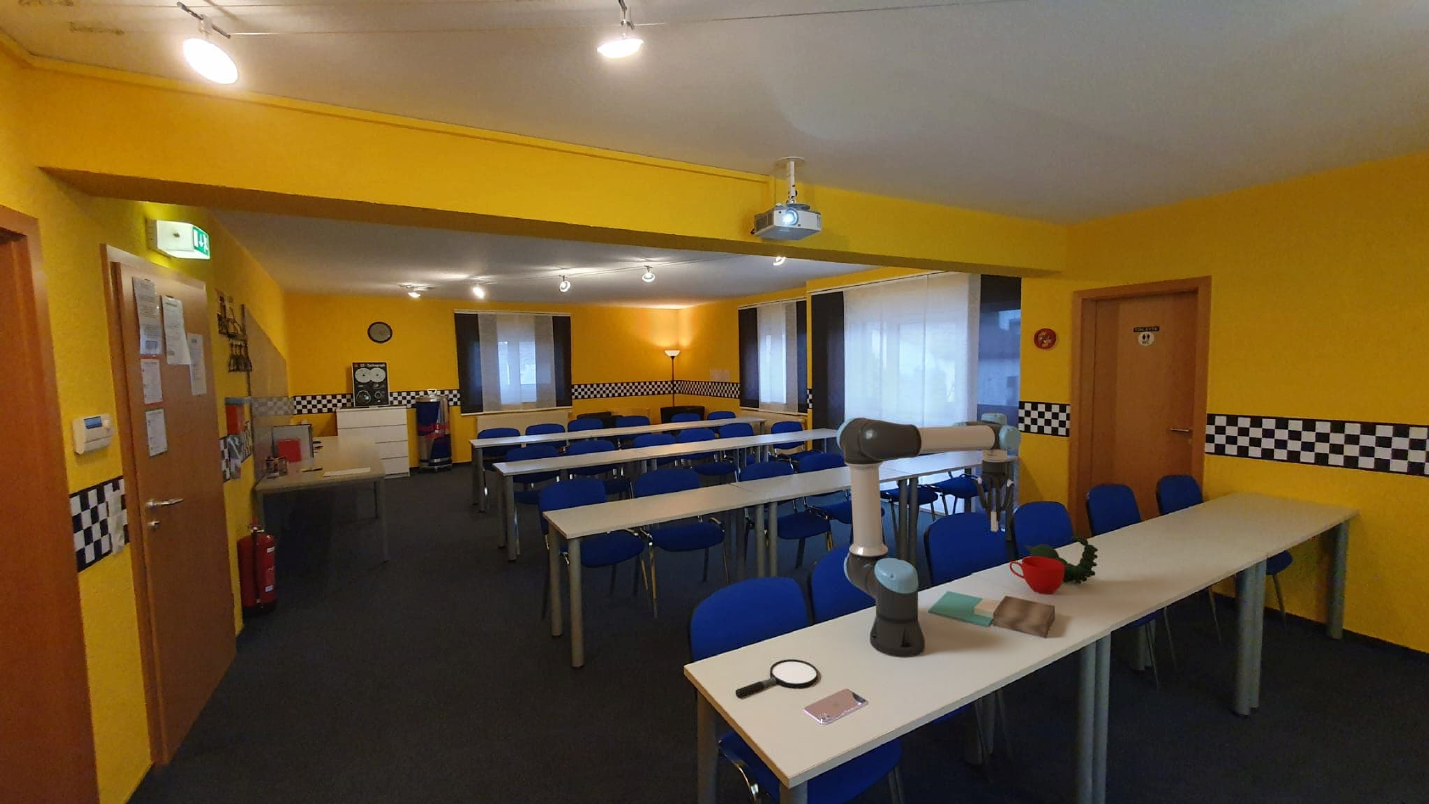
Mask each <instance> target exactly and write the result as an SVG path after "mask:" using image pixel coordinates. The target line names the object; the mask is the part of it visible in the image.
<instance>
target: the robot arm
mask: <svg viewBox="0 0 1429 804" xmlns="http://www.w3.org/2000/svg"><path fill="white" fill-rule="evenodd" d="M1022 439H1023V438H1022V433H1021V431H1020V430H1019V428H1018V427H1016V426H1012V425H1009V424H1008V421H1007V416H1006V415H1005V413H998V412H997V413H995V412H989V413H983V414H982V415H981V419H980V420H972V421H963V420H962V421H958V422H954V423H952V425H951V426H928V427H927V426H925V427H918V426H916V425H915V424H910V423H909V424H904V423H903V424H902V423H896V422H890V421H886V420H882V419H881V420H880V419H872V418H868V417H867V418H866V417H860V416H859V417H852V418H851V417H850V418H848V419H847V420H845V421H844V422H843V423H842V424H841V425H840V427H839V428H838V430H837V433H836V442H837V443H836V444H837V445H838V447H839V448H840V450H841V451H842V452H843V457H844V460H843V461H844V464H845V465H846V466H847V467H849V473H850V475H849V476H850V491H851V492H850V494H851V510H852V511H851V512H852V515H851V516H852V529H853V543H852V544H851V545H850V546H849V547H848V548H849V550H848V551H849V552H848V553H847V556H846V557H844V558H845V559H844V562H843V570H844V575H845V576H846V577H845V578H847V579H848V581H849V582H850V583H851V584H852V586H855V587H856V588H857V589H858V590H861V591H862V592H864V593H865V594H867V595H868V596H869V597H871V598H873V599H875V617H874V621H873V624H872V626H871V630H870V633H869V642H870V645H871V647H873V649H875V650H876V651H879V652H880V653H882V654H885V655H889V656H893V657H900V658H903V657H904V658H907V657H908V658H909V657H913V656H915V657H916V656H918V655H920V654H922V653H923V652H924V651H925V650H926V640H925V639H926V638H925V635H924V633H923V629H922V627H921V625H920V621H919V579H918V572H917V569H916V568H915V566H913V565H912V564H911V563H909V562H908V561H906V560H902V559H898V558H895V557H894V558H893V557H892V558H891V557H889V548H888V547H887V546H886V545H885V544H884V542H883V527H882V526H883V525H882V523H883V522H882V508H881V505H882V503H881V487H880V470H879V469H880V467H881V465H882V464H883V463H884V461H890V460H899V459H910V458H911V459H913V458H917V457H918V456H919V455H920V454H922V455H923V454H937V453H938V454H940V453H955V452H957V453H958V452H971V451H973V452H974V451H975V452H976V451H981V459H982V461H981V473H980V476H979V477H978V478H975V479H973V480H972V482H973V484H974V485H975V486H976V490H977V494H978V498H979V502H980V504H981V505H980V506H981V508H982V509H985V510H987V519H988V521H990V531H991V532H997V531H999V522H1001V521H1002V512H1005V511H1006V510H1007V509H1008V508H1009V505H1010V500H1011V497H1012V493H1013V491H1014V488H1015V487H1016V485H1017V482H1015V481H1012V480H1011V479H1010V477H1009V475H1008V462H1007V459H1008V451H1009V452H1013V451H1016V450H1017V449H1018V448H1020V446H1021V444H1022ZM983 483H984V485H985V486H986V493H987V498H986V494H985V491H984V488H983V487H984V485H983ZM1005 484H1006V486H1007V488H1006V492H1005V495H1004V498H1003V499H1004V500H1003V503H1002V491H1003V487H1004V485H1005ZM994 489H995V509H994Z"/></svg>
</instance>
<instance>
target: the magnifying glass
mask: <svg viewBox="0 0 1429 804" xmlns="http://www.w3.org/2000/svg"><path fill="white" fill-rule="evenodd" d="M769 673H770V674H769V676H770V677H768V679H764V680H761V681H760V680H759V681H757V682H755V683H754V682H753V683H751V684H749V685H746V686H742V687H739V688H736V690H735V696H736V698H738V699H739V698H740V699H743V698H746V697H749V696H751V695H753V694H756V693H758V692H761V691H763V690H766V689H768V688H769V687H773V686H777V685H778V686H780V687H781V688H786V689H791V690H793V689H794V690H798V689H799V690H800V689H805V688H809V687H811V686H813V685H814V684H815V683H817V681H818V680H819V671H818V669H817V668H816V666H815V665H813V664H812V663H810V662H808V661H805V660H801V659H795V658H793V659H782V660H778V661H776V662H774V663H773V664H772V665H771V667H770V670H769Z"/></svg>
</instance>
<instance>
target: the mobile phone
mask: <svg viewBox="0 0 1429 804" xmlns="http://www.w3.org/2000/svg"><path fill="white" fill-rule="evenodd" d="M867 705H868V700H866V699H865V698H863V697H862V696H860V695H859V694H857V693H855V692H853V691H852V690H850V689H848V688H844V689H841V690H839V691H836V692H835V693H833V694H831V695H828V696H826V697H823V698H822V699H819V700H817V701H815V702H812V703H811V704H810V705H809V704H808V705H807V706H805V707H803V712H804V714H806V715H808V716H809V717H810V718H812V719H813V720H815V721H816V722H817V723H819V724H820V725H822V726H826V725H828V724H831V723H833V722H835V721H836V720H839V719H841V718H843V717H845V716H847V715H849V714H851V713H853V712H854V711H857V710H859V709H861V708H863V707H865V706H867Z"/></svg>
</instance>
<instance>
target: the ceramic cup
mask: <svg viewBox="0 0 1429 804" xmlns="http://www.w3.org/2000/svg"><path fill="white" fill-rule="evenodd" d="M1013 564H1015V565H1018V566H1019V567H1020V569H1021V571H1022V574H1019V572H1016V571H1015V570H1014V568H1013ZM1064 569H1065V567H1064V564H1063V563H1062V562H1060V561H1057V560H1054V559H1051V558H1046V557H1030V556H1026V557H1023V558H1022V559H1021V563H1020V562H1018V561H1016V560H1015V561H1011V562H1009V570H1010V571H1011V573H1013V574H1014V575H1015V576H1017V577H1019V578H1021V579H1023V580H1025V582H1026V584H1027V585H1028V586H1029V588H1030V589H1031V590H1032V591H1033V592H1035V593H1037V594H1043V595H1052V594H1054V593H1055V592H1056V591H1057V590H1058V589H1059V588H1060V587H1061V586H1062V583H1063V578H1064Z"/></svg>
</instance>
